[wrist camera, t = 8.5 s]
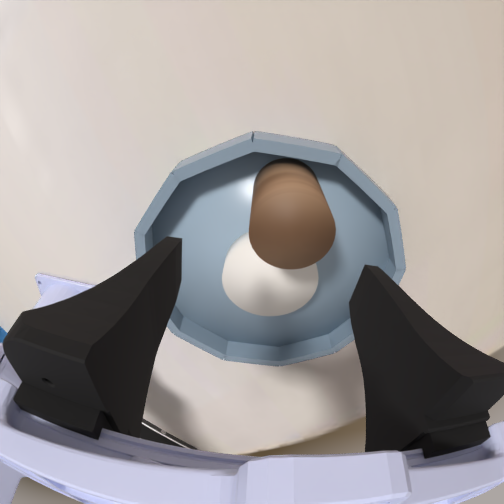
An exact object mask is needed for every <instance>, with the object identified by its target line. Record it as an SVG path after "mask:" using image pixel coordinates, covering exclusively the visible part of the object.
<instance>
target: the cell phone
mask: <svg viewBox="0 0 504 504" xmlns="http://www.w3.org/2000/svg"><path fill="white" fill-rule="evenodd" d="M140 439H144V440H149V441H153V442H157V443H162V444H167V445H172V446H177V447H183V448H188V449H194V450H197V449H196V448H195V447H193V446H191V445H189V444H187V443H185V442H183V441H181V440H179V439H178V438H176V437H174V436H172V435H170V434H169V433H167V432H164V431H163V430H162V429H160V428H158V427H156V426H155V425H153V424H151V423H150V422H148V421H146V420H145V419H142V425H141V432H140Z"/></svg>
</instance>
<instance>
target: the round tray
mask: <svg viewBox="0 0 504 504" xmlns="http://www.w3.org/2000/svg"><path fill="white" fill-rule="evenodd" d="M281 158H292V159H297V160H299V161H302V162H303V163H305V164H307V165H308V166H309V167H310V168H311V169H312V170H313V171H314V173H315V175H316V177H317V179H318V182H319V184H320V186H321V189H322V191H323V193H324V196H325V198H326V200H327V203H328V205H329V208H330V210H331V213H332V215H333V218H334V220H335V225H336V235H335V240H334V242H333V245H332V247H331V249H330V250H329V251H328V253H327V254H326V255H325V256H324V257H323V258H322V259H321V260H319V261H318V262H316V263H314V264H312V265H310V266H308V267H305V268H301V269H281V268H277V267H274V266H272V265H270V264H268V263H266V262H265V261H263V260H262V259H261V258H260V257H259V256H258V255H257V254H256V253H255V251H254V250H253V248H252V246H251V244H250V240H249V222H250V213H251V204H252V195H253V186H254V181H255V178H256V176H257V174H258V172H259V171H260V170H261V169H262V168H263V167H264V166H265V165H266V164H268V163H269V162H271V161H273V160H276V159H281ZM167 236H169V237H176V238H182V281H181V285H180V289H179V293H178V297H177V300H176V304H175V306H174V309H173V311H172V314H171V316H170V319H169V321H168V324H167V327H168V328H169V329H170V331H171V332H172V333H174V335H176V336H178V337H179V338H181V339H183V340H185V341H187V342H189V343H191V344H193V345H194V346H196V347H198V348H200V349H202V350H204V351H206V352H208V353H210V354H212V355H214V356H216V357H218V358H220V359H222V360H223V359H224V360H226V361H234V362H242V363H250V364H259V365H269V366H279V365H280V366H285V365H289V364H293V363H298V362H302V361H306V360H310V359H314V358H318V357H322V356H326V355H330V354H333V353H334V352H337V351H339V350H340V349H342V348H343V347H345V346H346V345H347V344H349V343H350V342H352V341H353V340H354V339H355V338H354V334H353V330H352V326H351V319H350V310H349V301H350V299H351V296H352V294H353V292H354V289H355V287H356V284H357V282H358V280H359V277H360V275H361V272H362V270H363V267H364V265H372V266H378V267H379V268H381V269H382V270H383V271H384V272H385V273H386V274H387V275H388V276H389V277H390V278H391V279H392V280H393V281H394V282H395V283H396V284H397V285H399V283H400V281H401V279H402V277H403V275H404V272H405V269H406V265H405V256H404V249H403V241H402V234H401V228H400V221H399V215H398V209H397V208H396V206H395V204H394V203H393V202H392V201H391V200H390V198H389V197H388V196H387V195H386V194H385V193H384V191H383V190H382V189H381V188H380V187H379V186H378V185H377V184H376V183H375V182H374V181H373V180H372V179H371V178H370V177H369V176H367V175H366V174H365V173H364V172H363V171H362V170H361V169H360V168H359V167H358V166H357V165H356V164H355V163H354V162H353V161H352V160H351V159H350V158H349V157H347V156H346V155H345V154H344V153H343V152H342V151H341V150H340V149H339V148H338V147H337V146H334V145H332V144H327V143H322V142H317V141H312V140H306V139H301V138H295V137H290V136H284V135H278V134H271V133H265V132H258V131H255V134H253V131H252V132H250V133H247V134H244V135H242V136H239V137H237V138H234V139H232V140H229V141H227V142H224V143H222V144H219V145H217V146H215V147H212V148H210V149H207V150H205V151H203V152H200V153H198V154H196V155H194V156H191V157H189V158H187V159H185V160H182V161H181V162H179V164H178V165H177V166H176V167H175V168H174V169H173V171H172V172H171V173H170V175H169V176H168V178H167V179H166V181H165V182H164V184H163V185H162V187H161V188H160V190H159V191H158V193H157V195H156V196H155V198H154V199H153V201H152V203H151V204H150V206H149V207H148V209H147V211H146V212H145V214H144V216H143V217H142V219H141V221H140V222H139V224H138V226H137V227H136V229H135V232H134V238H135V251H136V260H137V259H138V258H140V257H141V256H142V255H144V254H145V253H146V252H147V251H149V250H150V249H151V248H152V247H154V246H155V245H156V244H157V243H159V242H160V241H161V240H163V239H164V238H165V237H167Z"/></svg>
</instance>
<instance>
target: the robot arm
mask: <svg viewBox="0 0 504 504" xmlns="http://www.w3.org/2000/svg"><path fill="white" fill-rule="evenodd" d="M35 279H36V282H37V285H38V288H39V291H40V294H41V298H40V299H39V301H38V302H37V303H36V305H35V306H34V308H33V309H32V310H28V311H24V312H22V313H21V315H20V316H19V317H18V319H17V320H16V322H15V323H14V325H13V326H12V328H11V329H10V331H9V332H8V334H7V335H6V337H5V338H4V340H3V343H0V504H11V503H12V500H13V497H14V495H15V492H16V489H17V487H18V484H19V482H20V479H21V478H22V477H29V478H31V479H33V480H35V481H37V482H39V483H41V484H43V485H44V486H47V487H49V488H51V489H53V490H55V491H57V492H59V493H62V494H64V495H66V496H68V497H70V498H73V499H75V500H78V501H80V502H82V503H85V504H459V503H461V502H464V501H466V500H468V499H471V498H473V497H476V496H478V495H480V494H482V493H485V492H487V491H489V490H490V489H492V488H494V487H495V486H497V485H499V484H501V483H502V482H504V421H501V422H498V423H495V424H492V425H491V426H489V427H487V424H486V421H487V420H488V419H489V418H490V416H489V413H488V410H489V409H490V408H491V407H492V406H493V405H494V404H495V403H496V402H497V401H498V400H499V399H500V398H501V397H502V396H503V395H504V363H503V362H501V361H499V360H497V359H495V358H493V357H490V356H488V355H486V354H484V353H482V352H481V351H479V350H477V349H475V348H474V347H472V346H470V345H469V344H467V343H465V342H464V341H462V340H461V339H459V338H458V337H456V336H455V335H454V334H452V333H451V332H449V331H448V330H447V329H445V328H444V327H443V326H442V325H440V324H439V323H438V322H437V321H435V320H434V319H433V318H432V317H431V316H430V315H428V314H427V313H426V312H425V311H424V310H423V309H422V308H421V307H420V306H419V305H418V304H417V303H416V302H414V301H413V300H412V299H411V298H410V297H409V296H408V295H407V294H406V293H405V292H404V291H403V290H402V289H401V288H400V287H399V286H398V285H397V284H396V283H395V282H394V281H393V280H392V279H391V278H390V277H389V276H388V275H387V274H386V273H385V272H384V271H383V270H382V269H381V268H379V267H378V266H372V265H364V267H363V270H362V272H361V275H360V277H359V280H358V282H357V284H356V287H355V289H354V292H353V294H352V296H351V299H350V301H349V310H350V319H351V326H352V330H353V334H354V338H355V342H356V346H357V350H358V354H359V359H360V363H361V367H362V372H363V378H364V389H365V402H366V444H365V452H364V453H348V454H324V455H293V454H292V455H270V456H265V457H253V456H242V455H232V454H223V453H215V452H208V451H201V450H194V449H188V448H183V447H177V446H172V445H167V444H162V443H157V442H153V441H149V440H144V439H140V432H141V425H142V419H143V413H144V407H145V402H146V397H147V392H148V387H149V382H150V378H151V373H152V369H153V365H154V361H155V357H156V354H157V351H158V347H159V345H160V342H161V339H162V337H163V334H164V332H165V329H166V327H167V324H168V321H169V319H170V316H171V314H172V311H173V309H174V306H175V304H176V300H177V297H178V293H179V289H180V285H181V281H182V238H176V237H169V236H167V237H165V238H164V239H163V240H161V241H160V242H159V243H157V244H156V245H155V246H154V247H152V248H151V249H150V250H149V251H147V252H146V253H145V254H144V255H142V256H141V257H140V258H138V259H137V260H136V261H134V262H133V263H132V264H130V265H129V266H127V267H126V268H124V269H123V270H121V271H120V272H119V273H117V274H115V275H114V276H112V277H110V278H109V279H107V280H105V281H103V282H102V283H100V284H98V285H96V286H95V285H90V284H85V283H81V282H76V281H71V280H67V279H62V278H57V277H53V276H49V275H44V274H40V273H37V274H36V275H35Z"/></svg>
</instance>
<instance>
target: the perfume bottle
mask: <svg viewBox="0 0 504 504" xmlns="http://www.w3.org/2000/svg"><path fill="white" fill-rule="evenodd" d="M7 334H8V333H6V332H5V331H4V330H3V329H2V328H1V327H0V343H3V340H4V338H5V337H6V335H7Z"/></svg>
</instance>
